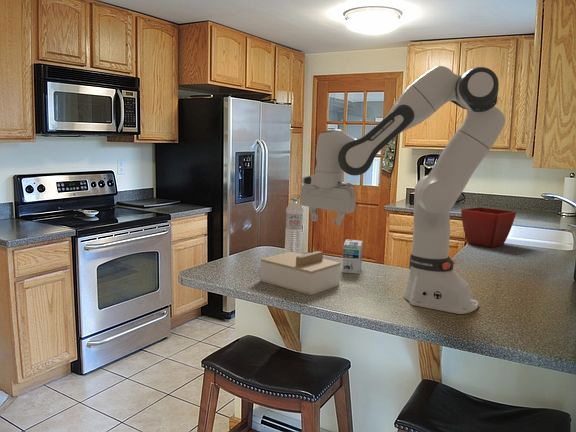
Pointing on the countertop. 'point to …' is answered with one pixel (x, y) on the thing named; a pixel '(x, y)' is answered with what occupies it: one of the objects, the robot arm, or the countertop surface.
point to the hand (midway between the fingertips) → (325, 223)
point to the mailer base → (300, 278)
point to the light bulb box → (352, 256)
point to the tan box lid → (302, 261)
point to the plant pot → (487, 225)
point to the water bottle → (294, 227)
